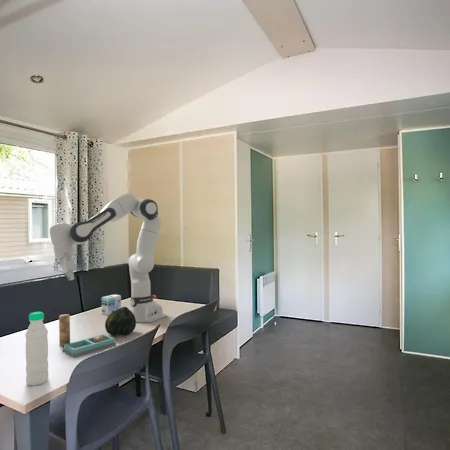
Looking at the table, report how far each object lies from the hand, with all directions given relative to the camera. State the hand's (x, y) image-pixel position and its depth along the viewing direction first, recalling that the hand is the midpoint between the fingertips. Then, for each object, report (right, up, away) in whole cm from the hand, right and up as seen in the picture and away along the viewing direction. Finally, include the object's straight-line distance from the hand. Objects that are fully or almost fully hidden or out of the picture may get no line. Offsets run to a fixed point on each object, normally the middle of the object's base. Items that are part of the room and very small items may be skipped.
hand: (71, 280), depth 171 cm
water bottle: (+11, -29, -50) cm, 58 cm away
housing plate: (+16, -28, -17) cm, 37 cm away
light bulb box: (+5, -29, +45) cm, 53 cm away
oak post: (+3, -29, -13) cm, 31 cm away
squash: (+25, -29, +2) cm, 38 cm away
